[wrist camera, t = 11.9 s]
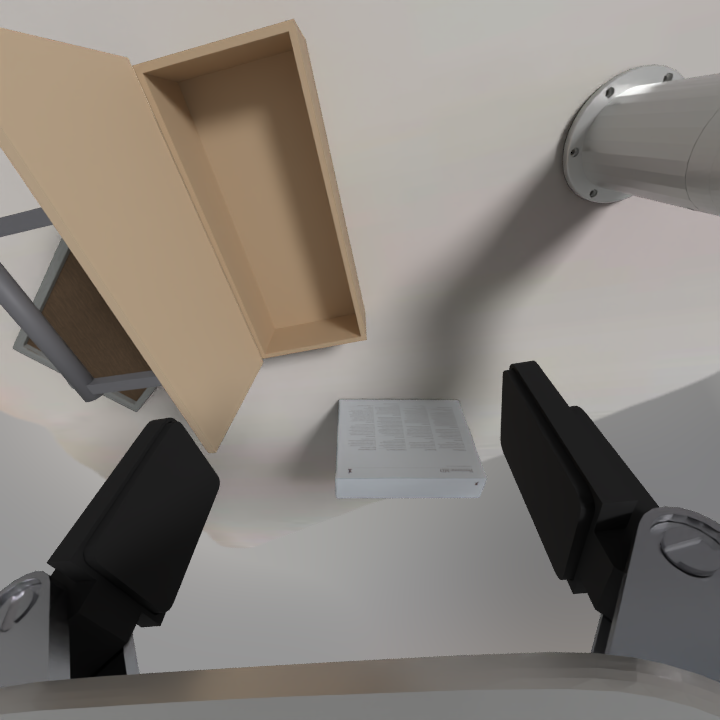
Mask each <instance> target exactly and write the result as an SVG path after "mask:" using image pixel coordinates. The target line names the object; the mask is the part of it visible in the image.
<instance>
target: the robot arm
mask: <svg viewBox="0 0 720 720" xmlns="http://www.w3.org/2000/svg"><path fill="white" fill-rule="evenodd" d="M606 91H607V93H606ZM605 93H606V95H605ZM572 150H573V152H572V154H571V151H572ZM563 170H564V174H565V178H566V180H567V182H568V184H569V186H570V188H571V189H572V190H573V191H574V192H575V194H577V195H578V196H580V197H581V198H583V199H586V200H589V201H592V202H597V203H612V202H617V201H621V200H624V199H626V198H629V197H631V196H637V197H641V198H645V199H649V200H654V201H658V202H662V203H666V204H670V205H674V206H678V207H683V208H687V209H691V210H695V211H699V212H704V213H708V214H712V215H717V216H720V73H719V74H712V75H706V76H699V77H692V78H686V79H685V78H684V77H683V76H682V75H681V74H680V73H679V72H678V71H677V70H675V69H673V68H670V67H668V66H664V65H655V64H654V65H646V66H640V67H637V68H633V69H629V70H627V71H625V72H623V73H621V74H619V75H617V76H615V77H614V78H612V79H611V80H609V81H608V82H606V83H605V84H604V85H602V86H601V87H600V88H599V89H598V90H597V91H596V92H595V93H594V94H593V95H592V96H591V97H590V98H589V99H588V101H587V102H586V103H585V104H584V105H583V107H582V108H581V110H580V111H579V113H578V115H577V116H576V118H575V120H574V122H573V124H572V126H571V128H570V130H569V133H568V136H567V139H566V142H565V146H564V153H563ZM590 192H591V193H590ZM501 446H502V450H503V453H504V455H505V457H506V460H507V462H508V464H509V466H510V469H511V471H512V474H513V476H514V478H515V481H516V483H517V485H518V488H519V490H520V492H521V494H522V497H523V499H524V501H525V504H526V505H527V508H528V511H529V513H530V515H531V518H532V520H533V522H534V524H535V526H536V529H537V531H538V534H539V536H540V538H541V541H542V543H543V545H544V548H545V550H546V552H547V554H548V557H549V559H550V562H551V563H552V566H553V569H554V571H555V573H556V575H557V576H558V578H559V579H560V580H567V581H568V583H569V586H570V588H571V590H572V592H573V594H578V593H588V595H589V598H590V600H591V602H592V604H593V606H594V608H595V610H597V611H599V612H600V613H601V615H600V619H599V623H598V627H597V630H596V634H595V638H594V642H593V646H592V650H591V653H562V652H539V653H511V654H482V655H457V656H439V657H438V656H437V657H420V658H401V659H382V660H364V661H346V662H327V663H312V664H294V665H276V666H260V667H243V668H226V669H211V670H194V671H179V672H163V673H149V674H148V673H147V674H139V668H138V662H137V656H136V651H135V645H134V639H133V634H132V633H133V630H134V628H135V626H136V624H137V625H139V626H140V627H152V626H161V623H162V621H163V618H164V616H165V613H166V612H167V611H168V610H169V609H170V608H171V607H172V605H173V603H174V600H175V598H176V595H177V592H178V590H179V588H180V585H181V583H182V580H183V578H184V575H185V573H186V570H187V568H188V565H189V563H190V560H191V557H192V555H193V553H194V550H195V547H196V545H197V542H198V540H199V537H200V535H201V532H202V530H203V527H204V525H205V522H206V520H207V517H208V515H209V512H210V510H211V507H212V505H213V502H214V500H215V497H216V495H217V492H218V490H219V486H220V480H219V477H218V475H217V474H216V472H215V471H214V470H213V468H212V467H211V465H210V464H209V462H208V461H207V459H206V458H205V457H204V455H203V454H202V452H201V451H200V449H199V448H198V447H197V445H196V444H195V442H194V441H193V439H192V438H191V436H190V435H189V434H188V432H187V431H186V429H185V428H184V426H183V425H182V424H181V423H180V422H177V421H176V420H175V419H173V418H165V419H158V420H152V421H150V422H149V423H148V424H147V425H146V426H145V428H144V429H143V431H142V432H141V433H140V435H139V436H138V437H137V439H136V440H135V442H134V443H133V444H132V446H131V447H130V448H129V450H128V451H127V453H126V454H125V455H124V457H123V458H122V460H121V461H120V462H119V464H118V465H117V466H116V468H115V469H114V471H113V472H112V473H111V475H110V476H109V477H108V479H107V480H106V482H105V483H104V484H103V486H102V487H101V489H100V490H99V492H98V493H97V494H96V495H95V497H94V498H93V500H92V501H91V502H90V504H89V505H88V506H87V508H86V509H85V511H84V512H83V513H82V515H81V516H80V517H79V519H78V520H77V522H76V523H75V524H74V526H73V527H72V528H71V530H70V531H69V533H68V534H67V535H66V537H65V538H64V540H63V541H62V542H61V544H60V545H59V546H58V548H57V549H56V550H55V552H54V553H53V555H52V556H51V557H50V559H49V560H48V562H47V563H48V564H49V565H51V566H52V567H54V568H55V571H54V572H53V574H52V575H51V576H50V575H48V574H47V573H45V572H44V571H35V572H32V573H29V574H26V575H24V576H22V577H20V578H19V579H17V580H15V581H13V582H12V583H11V584H9V585H8V586H7V587H5V588H4V589H3V590H2V591H0V720H720V524H718V523H717V522H716V521H714V520H712V519H710V518H708V517H706V516H704V515H702V514H700V513H697V512H694V511H691V510H687V509H683V508H680V507H667V506H665V507H659V506H658V505H657V503H656V502H655V501H654V500H653V498H652V497H651V496H650V495H649V493H648V492H647V491H646V489H645V488H644V487H643V486H642V484H641V483H640V482H639V480H638V479H637V478H636V477H635V475H634V474H633V473H632V471H631V470H630V469H629V468H628V466H627V465H626V464H625V463H624V461H623V460H622V459H621V457H620V456H619V455H618V453H617V452H616V451H615V450H614V448H613V447H612V446H611V445H610V443H609V442H608V441H607V439H606V438H605V437H604V436H603V434H602V433H601V432H600V431H599V429H598V428H597V427H596V425H595V424H594V423H593V421H592V420H591V419H590V418H589V416H588V415H587V414H586V413H585V412H584V410H583V409H582V408H580V407H578V406H571V407H569V406H568V404H567V403H566V402H565V400H564V399H563V398H562V396H561V395H560V394H559V392H558V391H557V390H556V388H555V387H554V385H553V384H552V383H551V381H550V380H549V379H548V377H547V376H546V375H545V373H544V372H543V371H542V369H541V368H540V366H539V365H538V364H537V363H536V362H535V361H528V362H521V363H515V364H511V365H510V368H509V370H506V371H504V372H503V383H502V411H501Z"/></svg>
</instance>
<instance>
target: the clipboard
mask: <svg viewBox="0 0 720 720" xmlns="http://www.w3.org/2000/svg"><path fill="white" fill-rule="evenodd" d="M33 303H34V305H35V306H36V307H37V308H38V309H39V311H40V312H41V313H42V314H43V316H44V317H45V318H46V319H47V321H48V322H49V323H50V324H51V326H52V327H53V328H54V329H55V330H56V332H57V333H58V334H59V335H60V337H61V338H62V339H63V340H64V342H65V343H66V344H67V345H68V347H69V348H70V349H71V350H72V351H73V353H74V354H75V355H76V356H77V358H78V359H79V360H80V361H81V363H82V364H83V365H84V366H85V367H86V369H87V370H88V371H89V372H90V374H91V375H92V376H93V377H94V378H101V377H108V376H115V375H123V374H130V373H137V372H144V371H152V369H151V368H150V366H149V365H148V363H147V362H146V361H145V359H144V358H143V356H142V355H141V353H140V352H139V350H138V349H137V347H136V346H135V344H134V343H133V341H132V340H131V338H130V337H129V335H128V334H127V333H126V331H125V330H124V328H123V327H122V325H121V324H120V322H119V321H118V319H117V318H116V316H115V315H114V313H113V312H112V310H111V309H110V307H109V306H108V305H107V303H106V302H105V300H104V299H103V297H102V296H101V294H100V293H99V291H98V290H97V288H96V287H95V285H94V284H93V282H92V281H91V280H90V278H89V277H88V275H87V274H86V272H85V271H84V269H83V268H82V266H81V265H80V263H79V262H78V260H77V259H76V257H75V256H74V254H73V253H72V252H71V250H70V249H69V247H68V246H67V244H66V243H65V241H64V240H63V238H62V239H61V241H60V243H59V246H58V248H57V250H56V252H55V254H54V257H53V259H52V261H51V263H50V266H49V268H48V270H47V272H46V274H45V277H44V279H43V281H42V283H41V286H40V288H39V290H38V292H37V295H36V297H35V299H34V301H33ZM13 349H14V350H16V351H18V352H20V353H22V354H24V355H26V356H28V357H30V358H32V359H34V360H36V361H38V362H40V363H41V364H43V365H45V366H47V367H49V368H51V369H53V370H55V371H57V372H59V371H58V370H57V369H56V367H55V366H54V365H53V364H52V363H51V362H50V361H49V359H48V358H47V357H46V356H45V355H44V354H43V353H42V351H41V350H40V349H39V348H38V347H37V346H36V344H35V343H34V342H33V341H32V340H31V339H30V338H29V336H28V335H27V334H26V333H25V332H24V331H23V330H22V328H21V330H20V332H19V335H18V337H17V339H16V341H15V343H14V346H13ZM59 373H60V372H59ZM67 382H68V381H67ZM68 384H69V382H68ZM69 385H70V384H69ZM70 386H71V385H70ZM71 387H72V386H71ZM72 388H73V387H72ZM73 389H74V388H73ZM155 389H156V387H149V388H141V389H133V390H125V391H117V392H109V393H104V394H103V395H104V396H106V397H108V398H110V399H112V400H114V401H116V402H117V403H119V404H121V405H123V406H125V407H127V408H129V409H131V410H133V411H135V412H137V411H138V410H139V409H140V408H141V406H142V405H143V404H144V403H145V401H146V400H147V399H148V397H149V396H150V395H151V394H152V392H153V391H154V390H155Z"/></svg>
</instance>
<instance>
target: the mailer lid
mask: <svg viewBox="0 0 720 720" xmlns="http://www.w3.org/2000/svg"><path fill="white" fill-rule="evenodd" d="M0 147H1V148H2V150H3V151H4V153H5V154H6V156H7V157H8V159H9V160H10V162H11V163H12V165H13V166H14V168H15V169H16V171H17V172H18V173H19V175H20V176H21V178H22V179H23V181H24V182H25V184H26V185H27V187H28V188H29V190H30V191H31V193H32V194H33V196H34V197H35V199H36V200H37V201H38V203H39V204H40V206H41V207H42V208H38V209H34V210H30V211H26V212H22V213H17V214H13V215H9V216H5V217H1V218H0V237H3V236H7V235H11V234H15V233H20V232H24V231H28V230H32V229H36V228H41V227H45V226H49V225H54V226H55V228H56V229H57V231H58V232H59V234H60V235H61V237H62V238H63V240H64V241H65V243H66V244H67V246H68V247H69V249H70V250H71V252H72V253H73V254H74V256H75V257H76V259H77V260H78V262H79V263H80V265H81V266H82V268H83V269H84V271H85V272H86V274H87V275H88V277H89V278H90V280H91V281H92V282H93V284H94V285H95V287H96V288H97V290H98V291H99V293H100V294H101V296H102V297H103V299H104V300H105V302H106V303H107V305H108V306H109V307H110V309H111V310H112V312H113V313H114V315H115V316H116V318H117V319H118V321H119V322H120V324H121V325H122V327H123V328H124V330H125V331H126V333H127V334H128V335H129V337H130V338H131V340H132V341H133V343H134V344H135V346H136V347H137V349H138V350H139V352H140V353H141V355H142V356H143V358H144V359H145V361H146V362H147V363H148V365H149V366H150V368H151V369H152V371H144V372H137V373H130V374H123V375H115V376H108V377H101V378H94V377H93V376H92V375H91V374H90V372H89V371H88V370H87V369H86V367H85V366H84V365H83V364H82V363H81V361H80V360H79V359H78V358H77V356H76V355H75V354H74V353H73V351H72V350H71V349H70V348H69V347H68V345H67V344H66V343H65V342H64V340H63V339H62V338H61V337H60V335H59V334H58V333H57V332H56V330H55V329H54V328H53V327H52V326H51V324H50V323H49V322H48V321H47V319H46V318H45V317H44V316H43V314H42V313H41V312H40V311H39V309H38V308H37V307H36V306H35V305H34V303H33V302H32V301H31V300H30V298H29V297H28V296H27V295H26V293H25V292H24V291H23V290H22V288H21V287H20V286H19V285H18V284H17V282H16V281H15V280H14V279H13V277H12V276H11V275H10V274H9V272H8V271H7V270H6V269H5V268H4V266H3V265H2V264H1V263H0V304H1V305H2V307H3V308H4V309H5V310H6V311H7V312H8V313H9V315H10V316H11V317H12V318H13V319H14V320H15V322H16V323H17V324H18V325H19V326H20V327H21V328H22V330H23V331H24V332H25V333H26V334H27V335H28V336H29V338H30V339H31V340H32V341H33V342H34V343H35V344H36V346H37V347H38V348H39V349H40V350H41V351H42V353H43V354H44V355H45V356H46V357H47V358H48V359H49V361H50V362H51V363H52V364H53V365H54V366H55V367H56V369H57V370H58V371H59V372H60V373H61V374H62V375H63V377H64V378H65V379H66V380H67V381H68V382H69V384H70V385H71V386H72V387H73V388H74V389H75V390H76V392H77V393H78V394H79V395H80V396H81V397H82V398H83V400H84V401H85V402H90V401H93V400H96V399H97V398H99V397H100V396H102V395H103V394H104V393H109V392H117V391H125V390H133V389H141V388H149V387H157V386H163V387H164V388H165V390H166V391H167V393H168V394H169V396H170V397H171V399H172V400H173V402H174V403H175V405H176V406H177V408H178V409H179V411H180V412H181V414H182V415H183V416H184V418H185V419H186V421H187V422H188V424H189V425H190V427H191V428H192V430H193V431H194V433H195V434H196V436H197V437H198V439H199V440H200V442H201V443H202V444H203V446H204V447H205V449H206V450H207V452H208V453H216V452H217V450H218V448H219V446H220V444H221V442H222V440H223V438H224V436H225V434H226V433H227V431H228V429H229V427H230V425H231V423H232V421H233V419H234V417H235V415H236V414H237V412H238V410H239V408H240V406H241V404H242V402H243V400H244V398H245V396H246V394H247V393H248V391H249V389H250V387H251V385H252V383H253V381H254V379H255V377H256V375H257V374H258V372H259V370H260V368H261V366H262V364H263V360H262V358H261V356H260V354H259V351H258V349H257V347H256V345H255V342H254V340H253V338H252V336H251V333H250V331H249V329H248V327H247V324H246V322H245V320H244V318H243V315H242V313H241V311H240V309H239V306H238V304H237V302H236V300H235V297H234V295H233V293H232V291H231V288H230V286H229V284H228V282H227V279H226V277H225V275H224V273H223V270H222V268H221V266H220V264H219V261H218V259H217V257H216V255H215V252H214V250H213V248H212V246H211V243H210V241H209V239H208V237H207V234H206V232H205V230H204V228H203V225H202V223H201V221H200V219H199V216H198V214H197V212H196V210H195V207H194V205H193V203H192V201H191V198H190V196H189V194H188V192H187V189H186V187H185V185H184V183H183V181H182V178H181V176H180V174H179V172H178V169H177V167H176V165H175V163H174V160H173V158H172V156H171V154H170V151H169V149H168V147H167V145H166V142H165V140H164V138H163V136H162V133H161V131H160V129H159V127H158V124H157V122H156V120H155V118H154V115H153V113H152V111H151V109H150V106H149V104H148V102H147V100H146V97H145V95H144V93H143V91H142V88H141V86H140V84H139V82H138V79H137V77H136V75H135V73H134V70H133V68H132V66H131V64H130V61H129V59H128V58H127V57H122V56H118V55H114V54H110V53H105V52H101V51H97V50H93V49H88V48H84V47H80V46H76V45H72V44H67V43H63V42H59V41H55V40H50V39H46V38H42V37H38V36H34V35H29V34H25V33H21V32H17V31H12V30H8V29H4V28H0Z"/></svg>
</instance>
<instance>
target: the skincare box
mask: <svg viewBox="0 0 720 720" xmlns="http://www.w3.org/2000/svg"><path fill="white" fill-rule="evenodd" d="M486 480H487V476H486V473H485V472H484V469H483V467H482V464H481V461H480V458H479V455H478V453H477V450H476V447H475V443H474V441H473V438H472V435H471V432H470V430H469V427H468V425H467V422H466V420H465V417H464V414H463V411H462V409H461V406H460V402H459V400H358V399H340V400H339V408H338V429H337V453H336V475H335V488H336V498H479V497H480V495H481V493H482V490H483V488H484V485H485V483H486Z"/></svg>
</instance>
